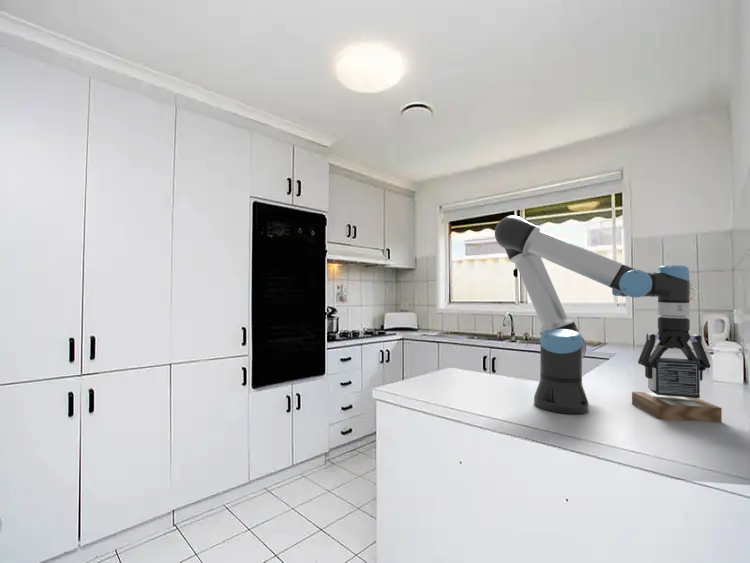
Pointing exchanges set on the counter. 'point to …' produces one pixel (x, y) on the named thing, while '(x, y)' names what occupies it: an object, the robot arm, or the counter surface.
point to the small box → (677, 377)
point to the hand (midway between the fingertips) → (673, 390)
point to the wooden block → (676, 407)
